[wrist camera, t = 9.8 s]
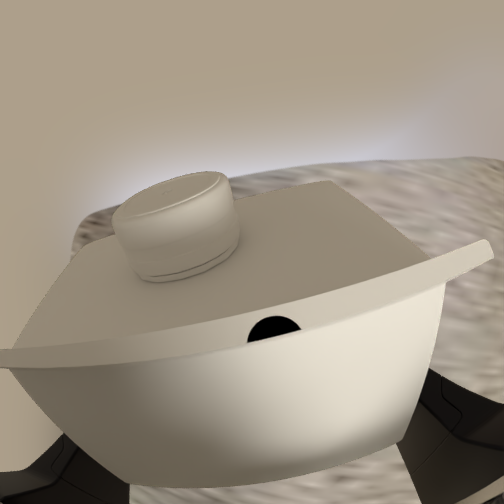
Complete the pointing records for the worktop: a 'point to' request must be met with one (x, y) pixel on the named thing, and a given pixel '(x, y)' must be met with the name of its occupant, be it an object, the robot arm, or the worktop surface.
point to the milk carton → (237, 334)
